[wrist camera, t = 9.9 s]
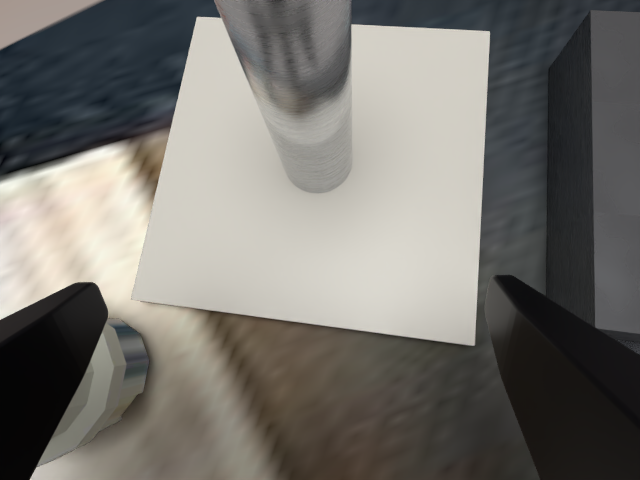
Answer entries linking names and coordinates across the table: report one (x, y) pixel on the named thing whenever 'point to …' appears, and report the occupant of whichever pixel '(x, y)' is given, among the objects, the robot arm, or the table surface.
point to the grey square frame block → (596, 174)
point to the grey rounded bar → (102, 389)
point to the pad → (329, 194)
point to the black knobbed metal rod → (299, 81)
